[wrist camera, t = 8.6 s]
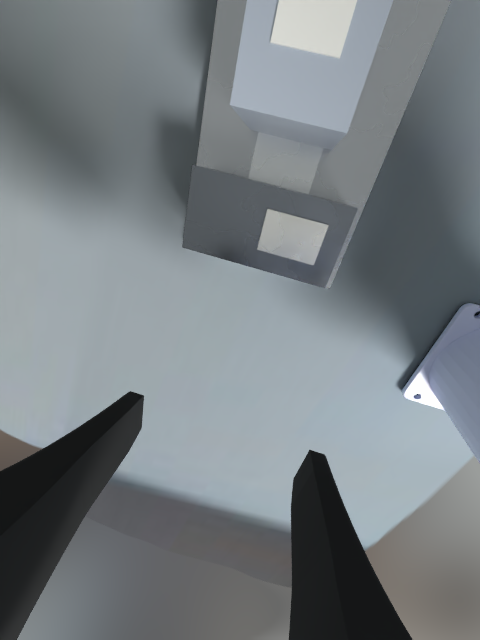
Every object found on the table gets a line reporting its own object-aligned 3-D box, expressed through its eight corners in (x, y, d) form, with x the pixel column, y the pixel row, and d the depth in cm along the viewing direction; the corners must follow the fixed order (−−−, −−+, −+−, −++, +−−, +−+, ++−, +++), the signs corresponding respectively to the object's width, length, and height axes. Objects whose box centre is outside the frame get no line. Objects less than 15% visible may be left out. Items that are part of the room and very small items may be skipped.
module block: (398, -49, 11) (469, -214, 6) (332, 150, 14) (348, 133, 10) (290, -70, 11) (285, -242, 7) (250, 129, 14) (228, 104, 10)
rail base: (595, -352, 8) (839, -794, 4) (328, 285, 18) (336, 310, 14) (274, -390, 9) (257, -806, 5) (188, 246, 19) (162, 260, 15)
